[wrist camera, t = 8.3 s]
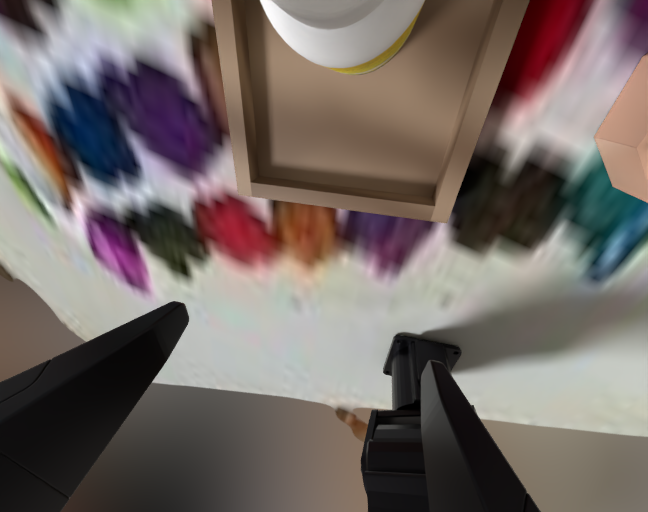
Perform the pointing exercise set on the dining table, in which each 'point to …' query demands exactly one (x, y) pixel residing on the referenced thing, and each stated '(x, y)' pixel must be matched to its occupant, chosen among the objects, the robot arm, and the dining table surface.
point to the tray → (364, 110)
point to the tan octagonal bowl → (628, 136)
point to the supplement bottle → (344, 30)
